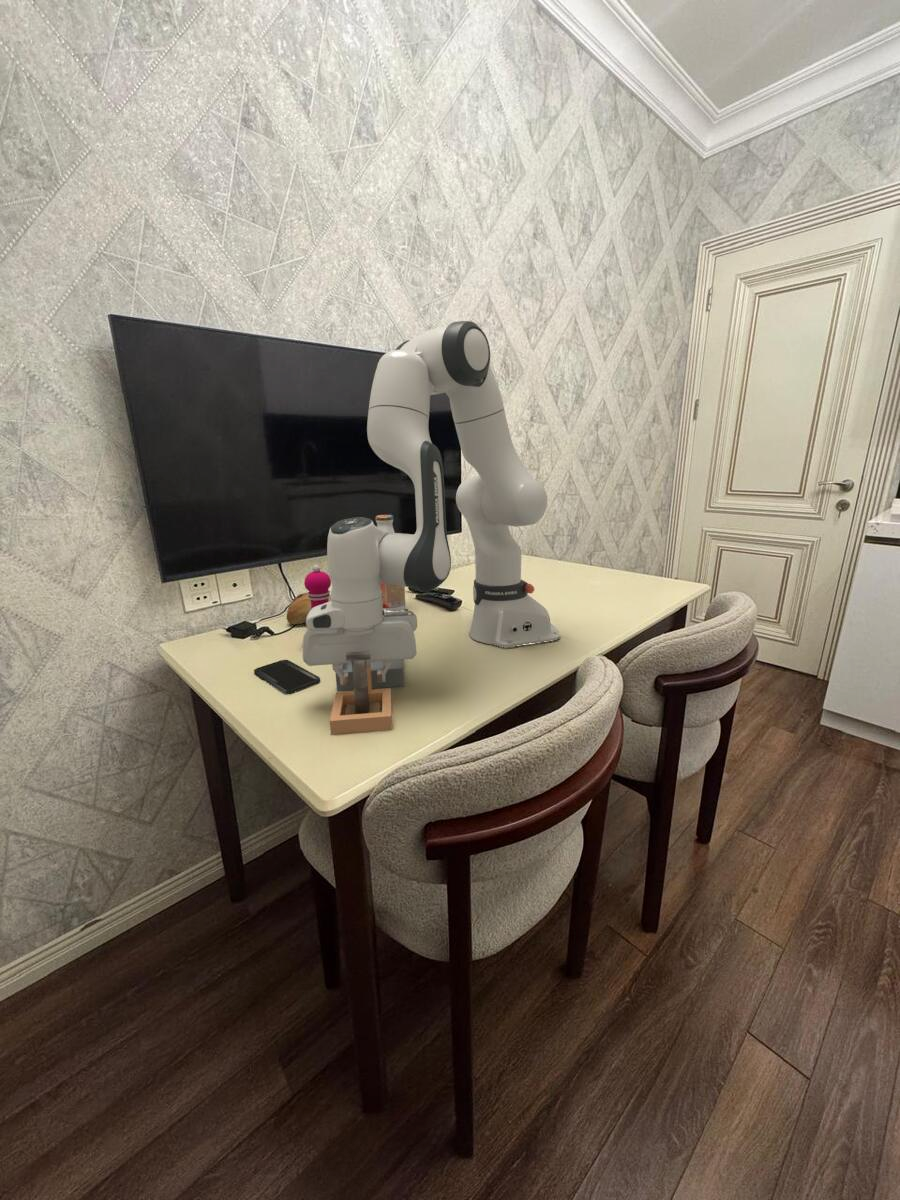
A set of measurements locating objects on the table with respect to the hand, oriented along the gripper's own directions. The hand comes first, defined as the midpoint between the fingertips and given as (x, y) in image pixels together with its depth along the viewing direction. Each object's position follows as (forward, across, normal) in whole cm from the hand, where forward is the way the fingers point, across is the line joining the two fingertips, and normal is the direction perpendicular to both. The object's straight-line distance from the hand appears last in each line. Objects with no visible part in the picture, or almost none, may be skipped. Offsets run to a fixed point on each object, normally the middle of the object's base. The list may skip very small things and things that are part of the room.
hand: (363, 682), depth 88 cm
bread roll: (+4, +16, -49) cm, 51 cm away
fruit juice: (+4, -5, -53) cm, 53 cm away
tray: (+4, -1, -12) cm, 13 cm away
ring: (+4, 0, +5) cm, 6 cm away
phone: (+4, +17, -12) cm, 21 cm away
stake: (+4, 0, +6) cm, 7 cm away
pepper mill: (+4, +11, -29) cm, 31 cm away
